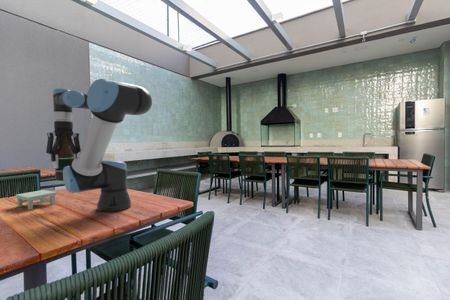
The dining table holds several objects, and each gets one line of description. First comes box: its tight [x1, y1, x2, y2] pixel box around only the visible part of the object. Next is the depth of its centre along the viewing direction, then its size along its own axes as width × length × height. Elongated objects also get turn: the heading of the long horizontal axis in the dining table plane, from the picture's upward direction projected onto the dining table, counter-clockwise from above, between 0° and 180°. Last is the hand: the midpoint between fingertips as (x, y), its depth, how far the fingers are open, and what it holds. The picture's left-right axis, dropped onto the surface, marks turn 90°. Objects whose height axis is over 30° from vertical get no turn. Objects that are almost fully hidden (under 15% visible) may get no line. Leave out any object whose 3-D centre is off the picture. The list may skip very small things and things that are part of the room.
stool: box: [14, 189, 57, 211], centre depth 116 cm, size 12×12×6 cm
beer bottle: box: [54, 131, 74, 182], centre depth 114 cm, size 8×8×24 cm
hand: (64, 167), depth 115 cm, fingers closed on beer bottle, 7 cm apart
